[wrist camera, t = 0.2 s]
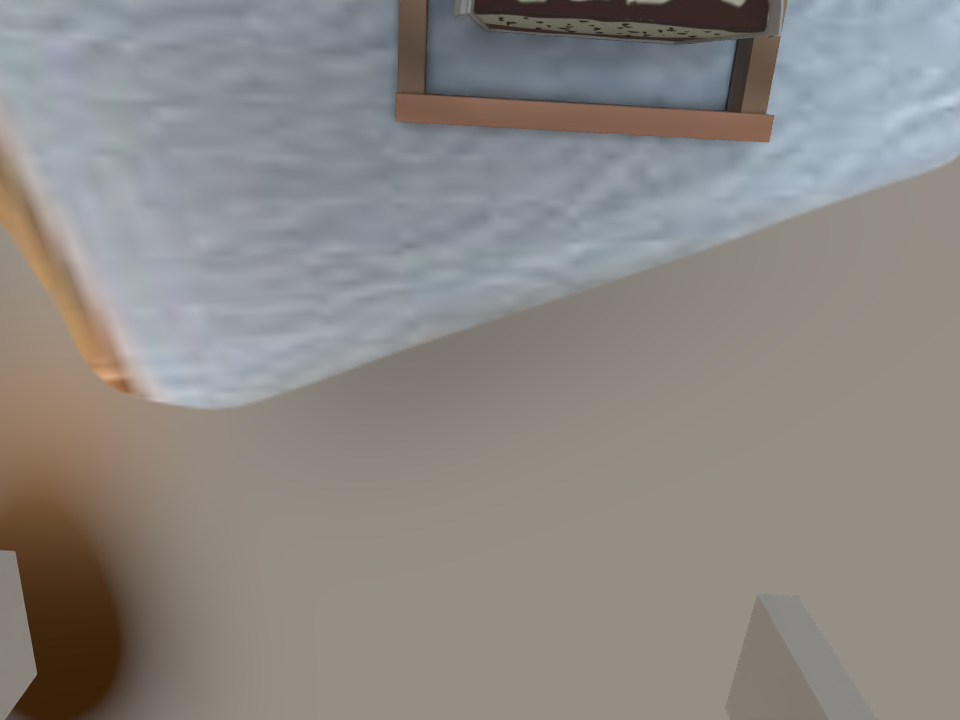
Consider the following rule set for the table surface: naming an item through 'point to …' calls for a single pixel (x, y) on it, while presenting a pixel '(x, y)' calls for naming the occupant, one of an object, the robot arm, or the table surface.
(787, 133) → the table surface
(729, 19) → the food container
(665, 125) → the walnut bed frame
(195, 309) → the table surface
